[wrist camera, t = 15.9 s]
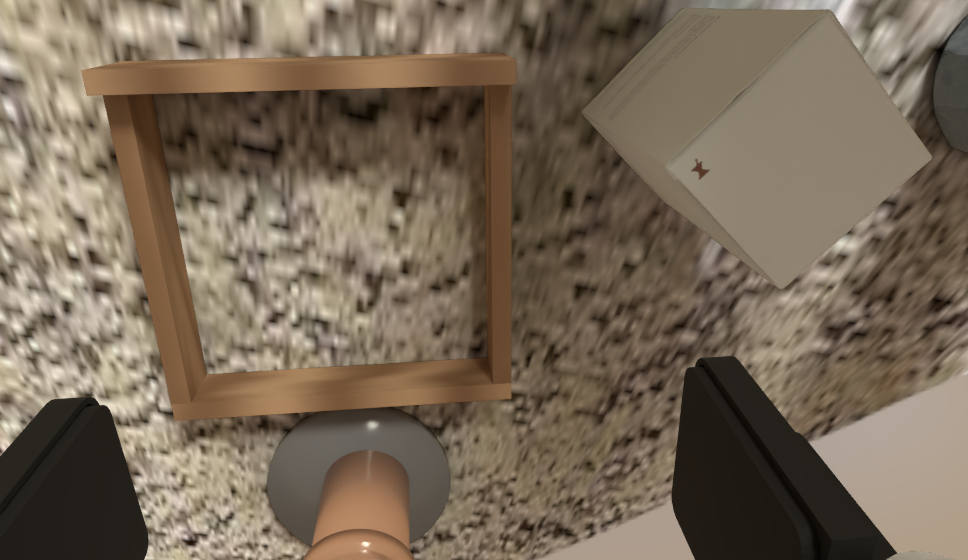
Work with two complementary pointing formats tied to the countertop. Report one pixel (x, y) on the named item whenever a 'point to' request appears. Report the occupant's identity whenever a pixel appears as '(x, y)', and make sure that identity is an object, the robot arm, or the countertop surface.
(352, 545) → the terracotta pot
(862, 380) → the countertop surface
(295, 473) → the slate coaster
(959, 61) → the moka pot
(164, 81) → the brown wooden square frame
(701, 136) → the supplement box
